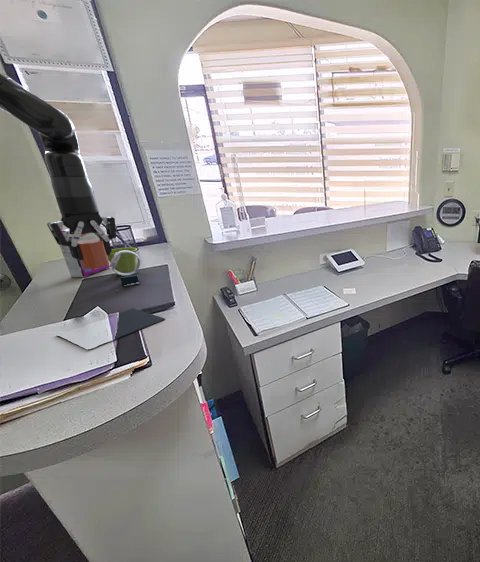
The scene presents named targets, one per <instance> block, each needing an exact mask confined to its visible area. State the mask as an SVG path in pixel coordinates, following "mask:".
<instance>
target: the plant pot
mask: <svg viewBox="0 0 480 562" xmlns="http://www.w3.org/2000/svg"><path fill="white" fill-rule="evenodd" d="M111 249H112V252H110V255H107V256H108V260H109V263H111V260H112V258H113V256H114V254H115V252H117V253H118V252H119V251H122V250H126V251H127V250H129V251H132V252H134V253H136V254H137V251H138V248H137V247H120V248H119V247H118V248H114V249H113V248H111ZM136 265H137V257H136V256H135V255H133V254H131V253H127V252H126V253H121V254H120V258H119V261H118V263H117V265H116V267H115V268H114V269H115V270H117V271H118V272H121V273H128V272H133V271H134V269H135V267H136ZM114 273H115V272H114ZM117 275H118V274H116V273H115V276H117Z"/></svg>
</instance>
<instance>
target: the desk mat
mask: <svg viewBox="0 0 480 562" xmlns="http://www.w3.org/2000/svg"><path fill="white" fill-rule="evenodd" d="M118 313H119V322H118V329H117V333H116V336H115V340H114V341H116V340H119V339H121V338H124V337H126V336H128V335H131V334H134V333H136V332H139V331H141V330H144V329H146V328H148V327H151V326H154V325H156V324H158V323H160V322H163V321H165V320H166V318H165V317H161V316H159V315H155V314H153V313H150V312H146V311H143V310H141V309H137V308H134V307H132V308H129V309H127V310H126V309H125V310H124V311H120V312H118Z"/></svg>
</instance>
